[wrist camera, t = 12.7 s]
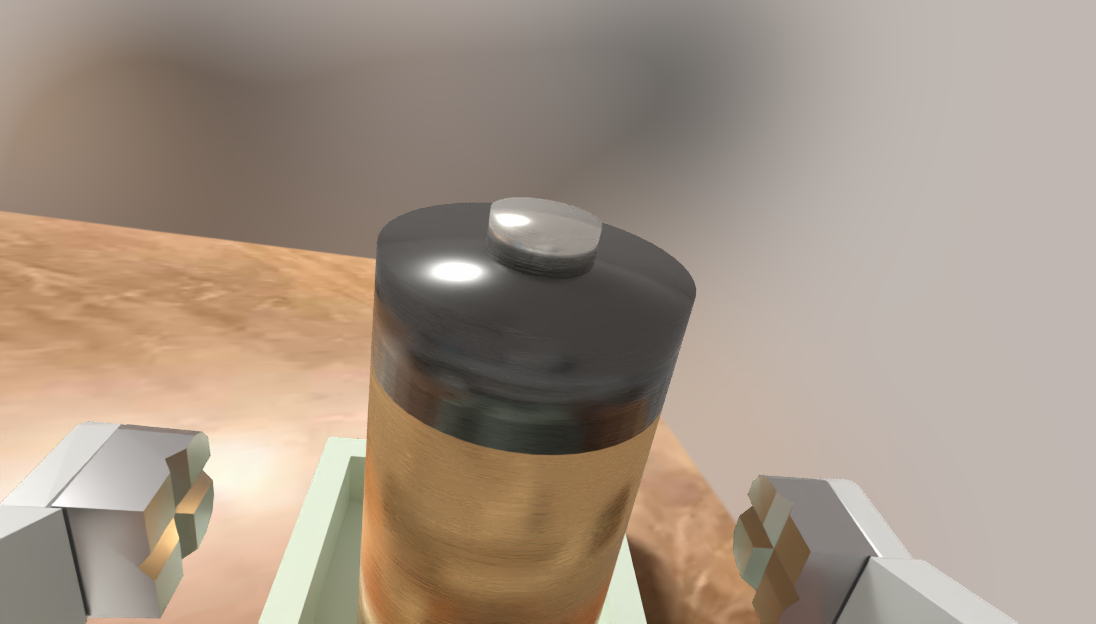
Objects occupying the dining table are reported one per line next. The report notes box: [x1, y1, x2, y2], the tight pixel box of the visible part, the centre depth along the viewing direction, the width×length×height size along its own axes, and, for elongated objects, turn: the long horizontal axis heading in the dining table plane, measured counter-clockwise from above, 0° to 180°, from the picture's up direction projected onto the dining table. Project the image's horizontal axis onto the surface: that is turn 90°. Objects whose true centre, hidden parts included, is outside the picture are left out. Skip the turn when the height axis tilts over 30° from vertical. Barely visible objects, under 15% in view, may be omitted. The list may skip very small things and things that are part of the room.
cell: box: [357, 197, 696, 624], centre depth 12 cm, size 5×5×12 cm
